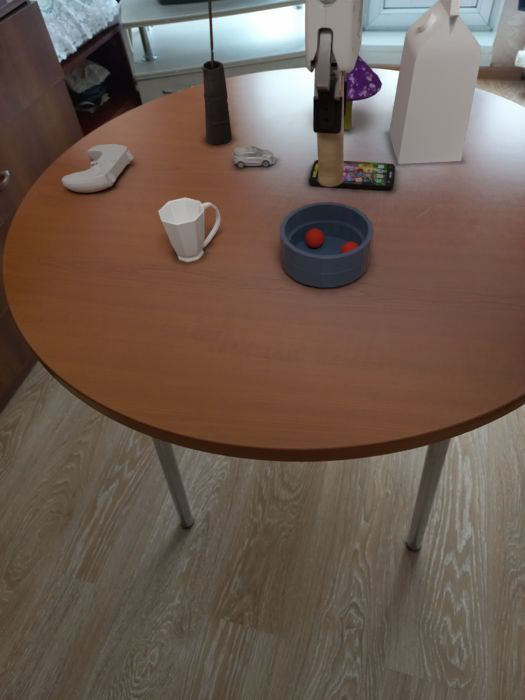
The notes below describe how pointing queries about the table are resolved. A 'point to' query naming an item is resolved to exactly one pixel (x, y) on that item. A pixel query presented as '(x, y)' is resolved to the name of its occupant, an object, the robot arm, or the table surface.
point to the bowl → (326, 244)
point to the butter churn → (215, 97)
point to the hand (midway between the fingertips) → (329, 122)
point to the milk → (435, 87)
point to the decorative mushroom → (359, 87)
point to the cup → (187, 226)
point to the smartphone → (361, 175)
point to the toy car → (253, 157)
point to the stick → (332, 151)
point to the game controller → (100, 169)
